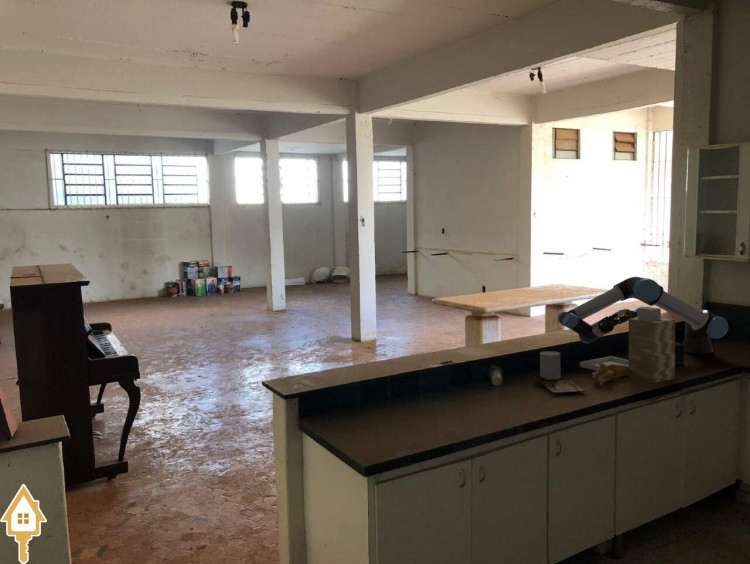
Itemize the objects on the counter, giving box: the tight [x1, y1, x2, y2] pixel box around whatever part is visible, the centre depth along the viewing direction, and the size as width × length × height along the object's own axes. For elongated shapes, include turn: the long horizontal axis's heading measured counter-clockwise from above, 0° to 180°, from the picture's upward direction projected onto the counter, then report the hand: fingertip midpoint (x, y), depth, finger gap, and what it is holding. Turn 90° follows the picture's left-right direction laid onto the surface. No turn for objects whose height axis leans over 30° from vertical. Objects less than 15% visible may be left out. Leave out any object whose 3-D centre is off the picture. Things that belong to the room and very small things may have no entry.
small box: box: [675, 341, 685, 366], centre depth 308 cm, size 11×6×10 cm, turn 179°
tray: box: [579, 355, 629, 378], centre depth 302 cm, size 22×25×2 cm
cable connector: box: [622, 306, 662, 321], centre depth 286 cm, size 6×18×5 cm, turn 26°
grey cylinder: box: [539, 350, 562, 380], centre depth 289 cm, size 10×10×12 cm
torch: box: [591, 362, 629, 385], centre depth 281 cm, size 8×8×25 cm
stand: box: [628, 317, 676, 384], centre depth 282 cm, size 14×14×28 cm
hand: (633, 310), depth 289 cm, fingers open, 13 cm apart
